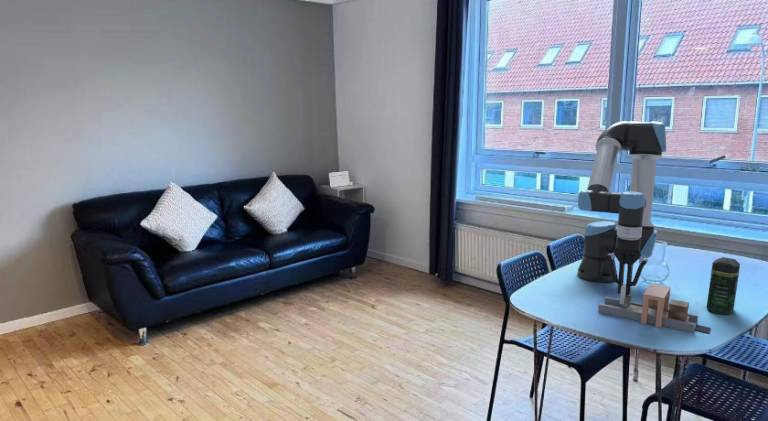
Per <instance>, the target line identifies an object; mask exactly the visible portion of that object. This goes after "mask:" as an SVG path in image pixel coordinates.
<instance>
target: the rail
mask: <svg viewBox="0 0 768 421" xmlns="http://www.w3.org/2000/svg"><path fill="white" fill-rule="evenodd" d="M631 305H635V306H640V307H642V305H643V303H639V302H635V301H634V302H633V301H631ZM623 307H624V305H623V304H620V298H615V297H610V296H609V297H608V296H605V297H604V303H598V309H597V312H598V313H603V314H606V315H611V316H615V317H621V318H626V319H629V320H633V321H638V322H641V315H642V312H638V311H633V310H629V309H624V308H623ZM649 308H650V309H655V310H657V307H655V306H650V305H649ZM663 311H665V312H668V311H669V308H668V309H664V310H663ZM656 316H657V315H652V314H648V318H647V323H648V324H651V325H656ZM688 316H689V321H688V322H685V321H681V320H676V319H671V318H666V317H663V319H662V327H664V328H665V327H666V328H669V329H670V328H671V329H675V330H679V331H683V332H689V333H693V334H694V332H695V327H696V325H698V319H699V315H698V314H694V313H689V312H688Z"/></svg>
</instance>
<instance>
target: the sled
mask: <svg viewBox="0 0 768 421" xmlns="http://www.w3.org/2000/svg"><path fill="white" fill-rule="evenodd" d="M631 302H632V293H630V294H629V295H626V297H625V298H624V307H623V308H624V309H629V310H633V311H638V312H642V307H640V306H635V305H631ZM689 306H690V302H689V301H684V300H683V301H682V300H678V299H673V298H671V300H670V301H669V307H668V309H669V311H668V312H665V311H663V317H666V318H671V319H676V320H681V321H685V322H688V321H689V316H688V313H689ZM648 314H652V315H657V310H655V309H650V308H648Z"/></svg>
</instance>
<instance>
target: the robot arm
mask: <svg viewBox="0 0 768 421" xmlns="http://www.w3.org/2000/svg"><path fill="white" fill-rule="evenodd" d="M666 131H667V130H666V125H665V123H664V122H661V121H652V120H651V121H626V120H625V121H618V122H616V123H613V124H612V125H610V126H608V127H607V128H605V130H603V131H602V132H601V134H600V135H599V136H598V138H597V139H596V142H595V151H596V154H595V157H594V160H593V166H592V169H591V174H590V177H589V180H588V184H587V189H582V190H580V191H579V192H578V198H577V207H578V209H579V210H581V211H584V212H590V213H591V212H594V213H608V214H616V215H617V214H618V218H617V219H618V221H617V223H616V222H614V221H610V220H609V221H608V220H606V221H605V220H603V221H593V222H590V223H588V224H587V225H586V226H585V230H584V235H583V236H584V237H583V239H584V240H583V252H582V253H583V255H582V259H581V262H580V263H579V265H578V268H577V276H578V277H579V278H580V279H583V280H586V281H590V282H595V283H596V282H597V283H610V282H613V283H615V284H617V294H619V295H620V296H619V299H620V304H623V305H624V298H625V297H626V295H629V294H631V291H632V290H631V289H632V287H635V286H636V285H637V284H638V282H639V280H640V277H641V274H642V272H643V270H644V266H645V265H646V264H647V263H648V262H649V261H648V260H649V259H650V258H651V257H652V255H653V252H654V248H655V245H656V242H657V236H658V232H659V231H658V230H656V229H655V224H654V223H653V222H652V221H651V219H652V210H653V199H654V192H655V191H654V190H655V180H656V170H657V162H658V160H659V159H661V158H662V155H663V153H666V152H667V137H666V136H667V135H666ZM621 151H624V152H625V151H627V152H629V153H628V156H629V157H630V158H631V159H632V162H631V163H632V164H631V173H630V184H629V190H628V191H626V190H625V191H623V192H617V191H616V192H613V191H610V189H611V185H612V179H613V176H614V171H615V166H616V163H617V157H618V155H619V154H620V153H621ZM615 259H616V260H617V261H618V263H619V265H618V267H619V268H618V271H617V265H616V261H615ZM636 262H638V263H639V265H638V268H637V270H636V272H635V275H634V277H633V268H634V264H635V263H636ZM626 265H627V266H626ZM625 266H626V267H627V268H626V267H625ZM625 268H626V269H625ZM625 270H627V271H626V283H624V278H625ZM632 279H633V280H632Z"/></svg>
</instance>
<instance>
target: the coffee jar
mask: <svg viewBox="0 0 768 421" xmlns="http://www.w3.org/2000/svg"><path fill="white" fill-rule="evenodd" d="M740 265H741V263H740V262H738V260H736V259H735V258H730V257H724V256H721V257H719V258H716V259H715V260H713V262H712V263H711V271H710V279H709V280H710V281H709V287H708V295H707V300H706V309H707V310H708V311H711V312H713V313H716V314H719V315H731V314H732V313H733V311H734V310H735V303H736V296H737V290H738V282H739V275H740V267H741V266H740Z"/></svg>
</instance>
